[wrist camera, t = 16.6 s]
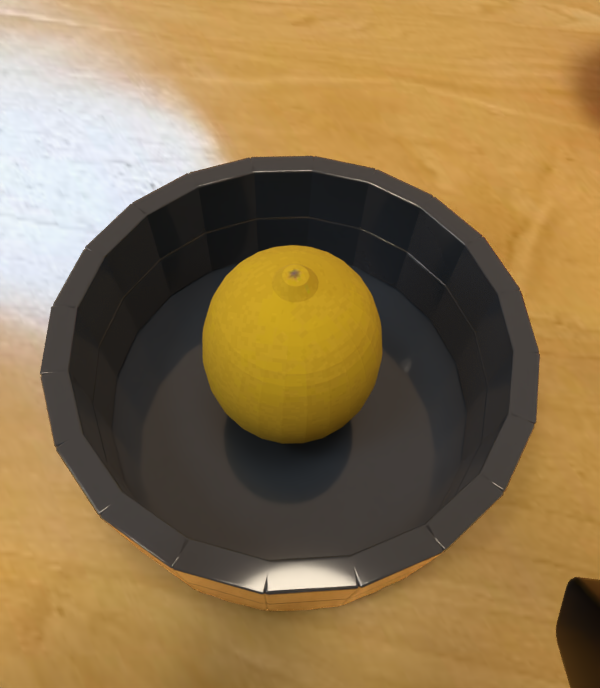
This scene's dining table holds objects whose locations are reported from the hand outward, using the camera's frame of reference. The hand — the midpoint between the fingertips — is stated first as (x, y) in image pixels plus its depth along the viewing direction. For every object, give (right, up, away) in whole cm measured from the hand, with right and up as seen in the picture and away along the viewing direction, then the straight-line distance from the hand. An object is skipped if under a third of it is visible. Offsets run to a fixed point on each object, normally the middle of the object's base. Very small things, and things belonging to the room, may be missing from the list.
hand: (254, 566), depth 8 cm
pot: (0, +1, +14) cm, 14 cm away
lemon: (0, +1, +13) cm, 13 cm away
